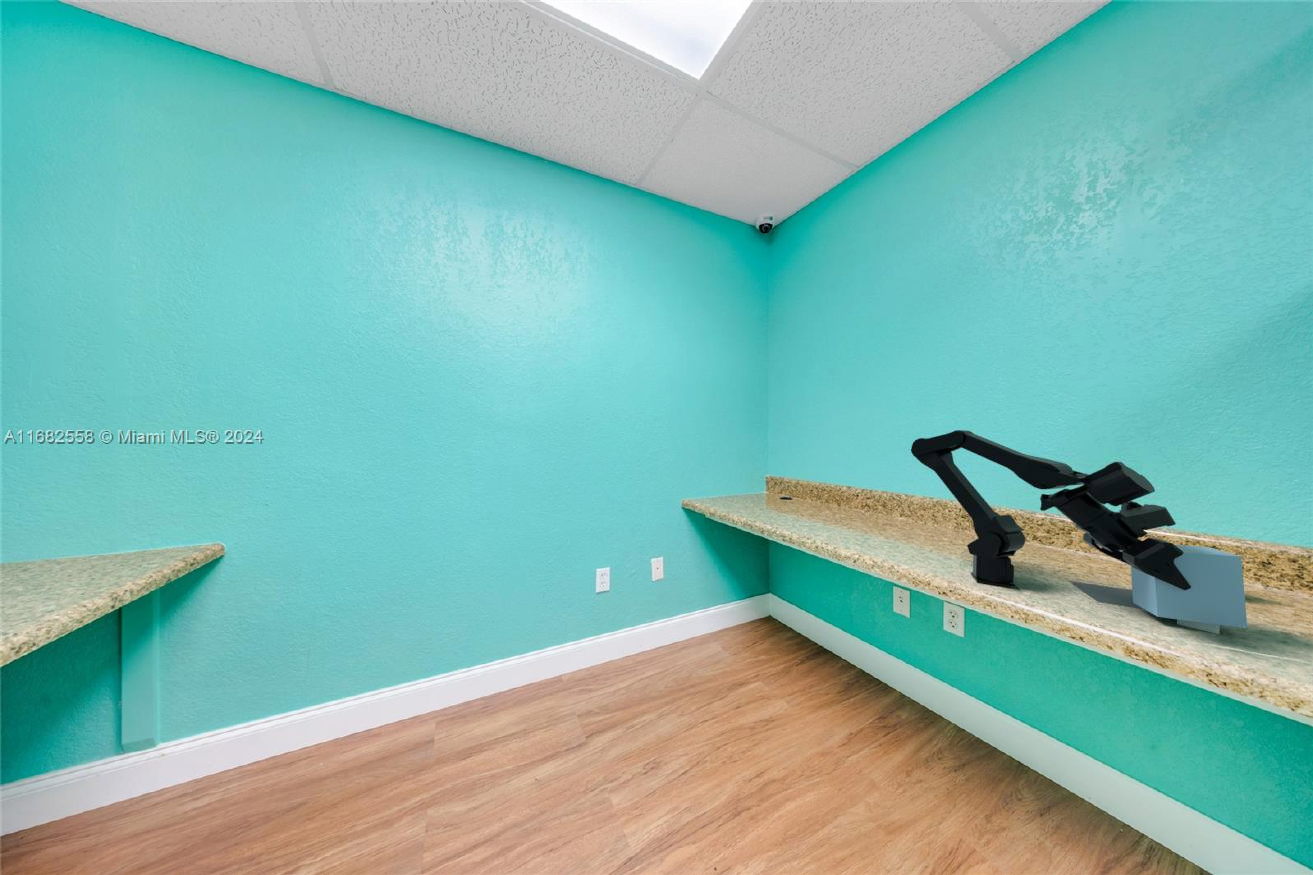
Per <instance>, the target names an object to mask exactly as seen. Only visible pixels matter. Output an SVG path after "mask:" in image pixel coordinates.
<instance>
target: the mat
mask: <svg viewBox="0 0 1313 875" xmlns="http://www.w3.org/2000/svg"><path fill="white" fill-rule="evenodd" d="M1067 582H1068V583H1070V584H1071V585H1073V586H1074V587H1076V588H1077V589H1078V590H1080V591H1082V592H1083V593H1085V594H1086V595H1087V596H1088V597H1089V598H1092V599H1093V600H1095V601H1096V602H1098V603H1102V604H1107V605H1115V606H1121V607H1126V608H1127V607H1129V608H1132V609H1133V608H1134V609H1139V610H1144V609H1143V608H1142V607H1140V606H1138V605H1136V604H1135V603H1133V592H1132V589H1127V588H1122V587H1121V588H1120V587H1116V586H1115V587H1113V586H1106V585H1099V584H1092V583H1086V582H1077V581H1072V580H1067Z"/></svg>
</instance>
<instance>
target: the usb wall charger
mask: <svg viewBox="0 0 1313 875" xmlns="http://www.w3.org/2000/svg"><path fill="white" fill-rule="evenodd" d="M1176 624H1177V625H1180V626H1183V627H1187V628H1191V629H1196V630H1201V631H1203V632H1204V631H1205V632H1209V633H1212V634H1216V635H1217V634H1218V635H1220V633H1221V632H1220V630H1221V629H1220V626H1221V625H1218V624H1210V623H1202V622H1194V621H1187V620H1179V619H1176Z"/></svg>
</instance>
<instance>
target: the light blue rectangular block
mask: <svg viewBox="0 0 1313 875" xmlns="http://www.w3.org/2000/svg"><path fill="white" fill-rule="evenodd" d="M1174 545H1175V546H1177V547H1178V548H1179V549H1181V550H1182V551H1183V552H1184V553H1183V555H1181V556H1179V557H1177V558H1176V559H1174V564H1175V565H1176V567H1177V568H1178V570H1179V571H1180V572H1181V574H1182V575H1183V576H1184V578H1185V579H1186V580H1187V582H1188V583H1189V584H1190V586H1191V588H1190V589H1188V590H1183V589H1180V588H1178V587H1176V586H1173V585H1171V584H1169V583H1167V582H1164V581H1162V580H1160V579H1157V578H1155V577H1153V576H1150V575H1148V574H1146V573H1144V572H1141V571H1139V570H1137V569H1135V568H1133V566H1132V565H1130V575H1131V590H1132V592H1133V603H1135V604H1136V605H1138V606H1140V607H1142V608H1143V609H1142V610H1146V611H1147V612H1149V613H1150V614H1153V615H1154V616H1155V617H1157V618H1158V617H1159V618H1164V619H1172V620H1177V619H1179V620H1187V621H1194V622H1202V623H1210V624H1218V625H1220V626H1226V627H1234V628H1242V629H1248V620H1247V618H1248V617H1247V608H1246V597H1245V585H1244V583H1245V582H1244V573H1243V571H1244V570H1243V560H1242V556H1241V555H1238V554H1234V553H1230V552H1226V551H1223V550H1220V549H1216V548H1213V547H1210V546H1197V545H1183V544H1182V545H1181V544H1174Z"/></svg>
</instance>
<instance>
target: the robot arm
mask: <svg viewBox="0 0 1313 875" xmlns="http://www.w3.org/2000/svg"><path fill="white" fill-rule="evenodd" d="M960 449H964V450H966V451H968V452H971V453H973V454H975V455H976V456H977V455H978V456H979V457H982V458H985V459H987V460H989V461H991V462H993V463H996V464H998V465H999V466H1001V467H1004V468H1007V469H1008V470H1010V471H1011V472H1012V473H1013V474H1015V476H1017V477H1018V478H1019V479H1020V480H1022V481H1024V482H1025V483H1026V484H1028V485H1030V486H1031V487H1033V488H1036V489H1037V490H1058V489H1062V490H1058V491H1057V492H1054V493H1052V494H1051V493H1050V494H1045V493H1042V494H1040V498H1039V500H1040V508H1039V510H1040V511H1041V512H1044V511H1045V512H1046V511H1047V510H1049V509H1052V508H1055V509H1056V510H1057V511H1059V512H1060V513H1061V514H1062V515H1063V516H1065V517H1066V518H1067V519H1069V520H1070V521H1071V522H1072V523H1074V527H1075V528H1077V530H1080V531H1082V532H1084V533H1083V535H1082V536H1083V539H1082V540H1083V542H1085V543H1086V544H1087V545H1088V546H1090V548H1093V549H1095V550H1097V551H1099V552H1100V553H1102V554H1104V555H1106V556H1108V557H1110V558H1113V559H1115V560H1117V561H1119V562H1122V563H1124V564H1125V565H1129V566H1131V565H1132V566H1133V568H1135V569H1137V570H1139V571H1141V572H1144V573H1146V574H1148V575H1150V576H1153V577H1155V578H1157V579H1160V580H1162V581H1164V582H1167V583H1169V584H1171V585H1173V586H1176V587H1178V588H1180V589H1183V590H1188V589H1190V588H1191V586H1190V584H1189V583H1188V582H1187V580H1186V579H1185V578H1184V576H1183V575H1182V574H1181V572H1180V571H1179V570H1178V568H1177V567H1176V565H1175V564H1174V559H1176V558H1177V557H1179V556H1181V555H1183V553H1184V552H1183V551H1182V550H1181V549H1179V548H1178V547H1177V546H1175V545H1176V544H1174V543H1173V542H1170V541H1167V540H1164V539H1161V538H1156V537H1155V538H1153V537H1147V538H1145V539H1144V540H1141V539H1139V538H1143V537H1145V536H1147V535H1148V534H1149V533H1148V532H1147V531H1149V530H1153V529H1158V528H1163V527H1172V526H1175V525H1176V524H1177V522H1176V521H1175V520H1174V518H1173V517H1172V515H1171V514H1170V511H1169V510H1168V509H1167V508H1166V506H1161V505H1157V504H1147V503H1145V504H1143V505H1141V504H1140V503H1138V501H1134V500H1137V499H1139V498H1142V497H1144V496H1147V495H1150V494H1152V493H1155V492H1156V489H1155V487H1154V486H1153V484H1152V483H1151V482H1150V481H1149V480H1148V478H1146V477H1145V476H1144V475H1142V474H1139V473H1138V472H1137V471H1136V470H1134V469H1133V468H1131V467H1129V466H1127V465H1126V464H1125V463H1123V462H1122V461H1114V462H1111V463H1109V464H1107V465H1106V466H1105V467H1103V468H1101V469H1099V470H1096V471H1095V472H1092V473H1089V474H1088V473H1084V472H1081V471H1077V470H1074V469H1073V468H1072V467H1071V466H1070V465H1068V464H1067V463H1064V462H1061V461H1057V460H1052V459H1048V458H1045V457H1038V456H1035V455H1029V454H1026V453H1023V452H1020V451H1018V450H1015V449H1013V448H1011V447H1008V446H1005V445H1002V444H1000V443H997V442H995V441H993V440H990V439H988V438H985V437H983V436H981V435H978V434H975V433H974V432H972V431H971V430H965V429H964V430H963V429H962V430H961V429H958V430H953V431H951V432H948V433H945V434H939V435H936V436H932V437H920V438H917V439H915V440H914V441H913V442H912V444H911V449H910V453H911V454H912V456H913V457H914V458H915V459H917V461H918V462H920V463H921V464H922V465H924V466H925V467H927V468H928V469H930V470H932V471H933V472H935V474H936V475H937V476H938V478H939V479H940V480H941V481H942V483H943V484H944V485H945V486H946V488H947V489H948V491H950V493H951V494H952V495H953V497H954V498H955V500H956V501H957V502H958V504H960V506H961V507H962V508H963V509H964V511H965V512H966V513H967V514H968V516H969V517H970V519H971V521H972V525H973V530H974V534H975V535H976V537H977V539H975V540H973V541H972V542H970V543H968V544H967V545H966V547H967V549H968V553H969V555H972V571H970V576H972V578H973V577H974V578H973V580H975V581H976V583H980V584H986V585H987V584H988V585H995V586H999V587H1000V586H1001V587H1006V588H1014V585H1013V584H1014V582H1015V579H1014V578H1015V577H1014V576H1015V566H1014V565H1013V563H1012V558H1011V557H1014V556H1015V554H1016V552H1018V550H1021V549H1022V548H1023V547H1024V545H1025V544H1026V535H1025V534H1024V531H1025V529H1024V528H1023V527H1021V526H1019V524H1017V522H1016V520H1015V519H1014V517H1013V516H1012V515H1011V514H1003V515H1002V514H999V513H997V512H996V511H995V510H993V508H992V507H991V506H990V505H989V503H988V502H987V501H986V500H985V498H984V497H983V496H982V495H981V493H979V491H978V490H977V489H976V487H974V485H973V483H971V482H970V480H969V479H968V478H967V477H966V476H965V474H964V473H963V472H962V471H961V470H960V469H959V467H958V466H957V465H956V464H955V461H954V456H953V453H952V452H954V451H957V450H960ZM1070 486H1078V487H1075V488H1071V489H1070V488H1066V487H1070ZM1106 504H1107V505H1108V504H1109V505H1110V506H1113V507H1119V506H1120V509H1119V512H1118V511H1114V510H1111V509H1109V508H1108V507H1107V506H1105V505H1106Z"/></svg>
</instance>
